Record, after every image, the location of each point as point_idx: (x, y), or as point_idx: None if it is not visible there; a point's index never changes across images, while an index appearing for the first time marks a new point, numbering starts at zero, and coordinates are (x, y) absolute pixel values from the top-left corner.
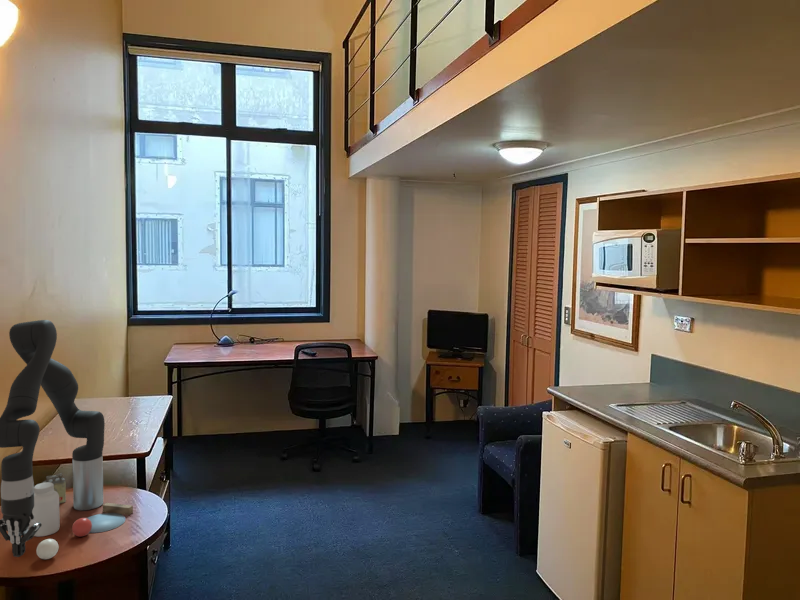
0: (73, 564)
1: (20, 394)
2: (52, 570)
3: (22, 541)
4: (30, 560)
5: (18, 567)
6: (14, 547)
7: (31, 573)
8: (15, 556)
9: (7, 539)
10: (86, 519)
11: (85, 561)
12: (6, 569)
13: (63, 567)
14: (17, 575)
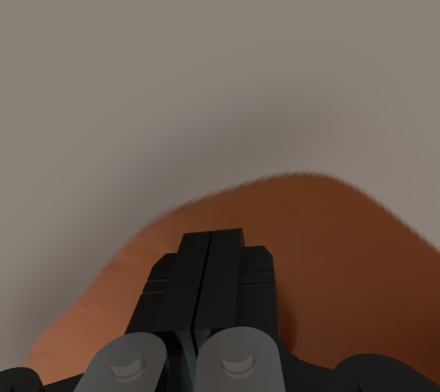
0: (73, 349)
1: None
2: (113, 282)
3: (3, 384)
4: (330, 322)
5: (333, 250)
6: (210, 291)
7: (192, 225)
8: (218, 230)
9: (351, 375)
10: None
11: (50, 381)
12: (390, 211)
13: (90, 318)
14: (253, 182)
